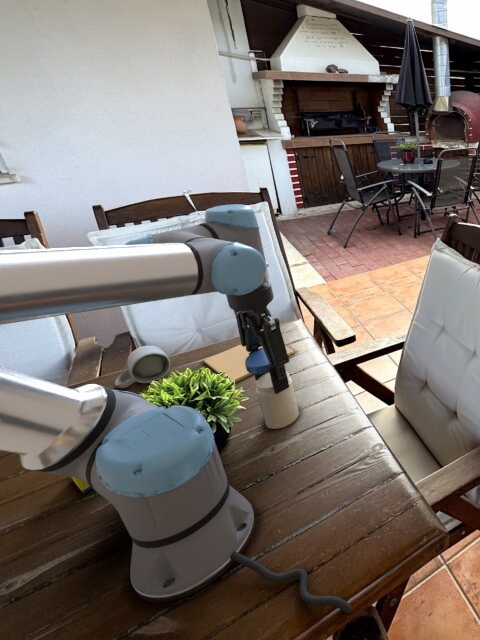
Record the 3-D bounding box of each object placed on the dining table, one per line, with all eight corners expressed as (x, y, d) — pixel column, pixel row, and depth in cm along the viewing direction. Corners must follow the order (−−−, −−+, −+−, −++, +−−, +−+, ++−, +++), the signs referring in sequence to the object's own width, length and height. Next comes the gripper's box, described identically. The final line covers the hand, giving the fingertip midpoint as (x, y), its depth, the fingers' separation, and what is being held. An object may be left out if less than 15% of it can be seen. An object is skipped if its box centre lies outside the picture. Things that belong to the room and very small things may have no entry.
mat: (294, 353, 112) (294, 350, 111) (231, 384, 99) (231, 381, 99) (265, 336, 120) (265, 333, 120) (204, 362, 107) (203, 360, 107)
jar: (305, 414, 89) (296, 376, 86) (275, 433, 84) (264, 393, 80) (289, 403, 93) (279, 365, 89) (259, 420, 88) (248, 381, 84)
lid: (294, 361, 84) (292, 353, 83) (256, 379, 78) (255, 371, 78) (276, 349, 88) (275, 342, 87) (239, 366, 82) (237, 358, 82)
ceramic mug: (166, 361, 108) (157, 337, 105) (175, 373, 103) (165, 348, 100) (114, 382, 100) (102, 356, 97) (120, 396, 95) (108, 369, 92)
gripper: (295, 290, 75) (315, 390, 82) (244, 268, 85) (266, 359, 93) (252, 305, 69) (279, 412, 77) (203, 279, 79) (230, 375, 87)
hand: (272, 382), depth 85 cm, fingers closed on lid, 7 cm apart
